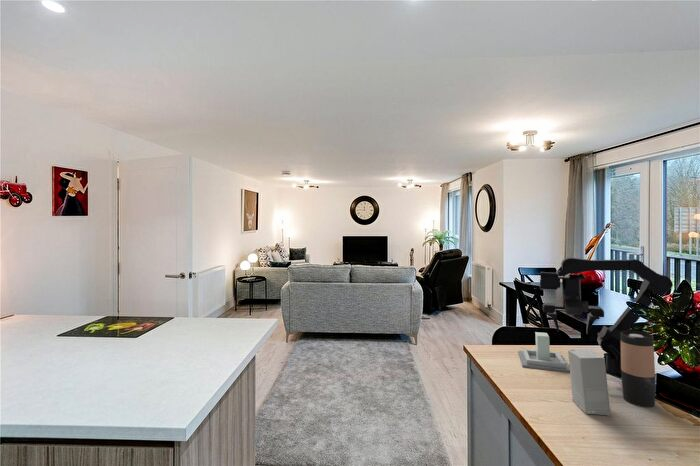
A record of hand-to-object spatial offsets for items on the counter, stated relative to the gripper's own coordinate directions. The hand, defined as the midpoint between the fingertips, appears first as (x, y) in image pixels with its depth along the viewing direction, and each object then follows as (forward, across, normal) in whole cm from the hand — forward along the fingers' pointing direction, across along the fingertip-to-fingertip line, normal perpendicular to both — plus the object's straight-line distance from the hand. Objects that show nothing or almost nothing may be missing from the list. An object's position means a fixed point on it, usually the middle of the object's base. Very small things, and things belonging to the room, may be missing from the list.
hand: (572, 332), depth 124 cm
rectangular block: (+12, -10, +1) cm, 16 cm away
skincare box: (+13, +1, -32) cm, 34 cm away
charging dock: (+13, -10, +1) cm, 16 cm away
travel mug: (+13, +14, -21) cm, 29 cm away
